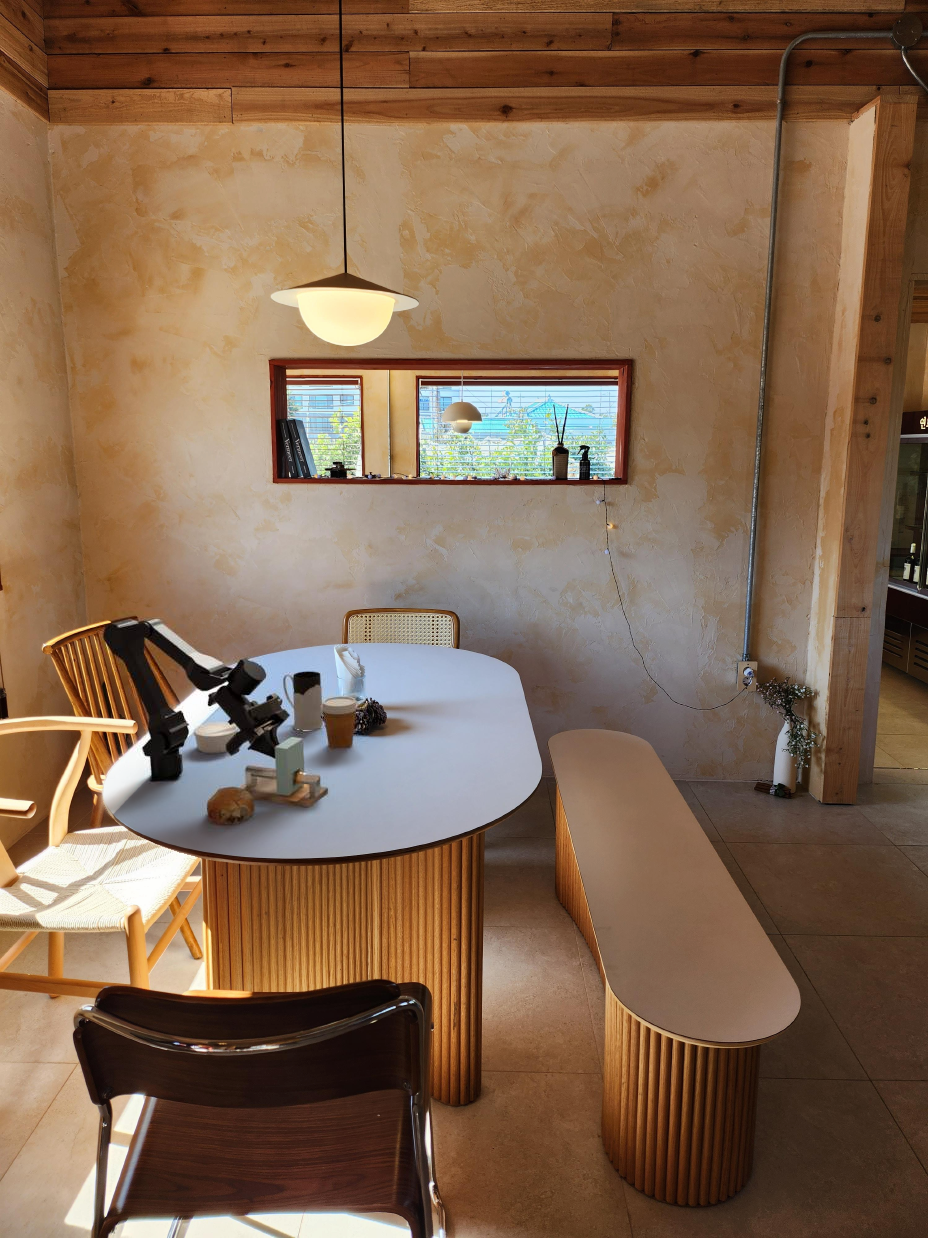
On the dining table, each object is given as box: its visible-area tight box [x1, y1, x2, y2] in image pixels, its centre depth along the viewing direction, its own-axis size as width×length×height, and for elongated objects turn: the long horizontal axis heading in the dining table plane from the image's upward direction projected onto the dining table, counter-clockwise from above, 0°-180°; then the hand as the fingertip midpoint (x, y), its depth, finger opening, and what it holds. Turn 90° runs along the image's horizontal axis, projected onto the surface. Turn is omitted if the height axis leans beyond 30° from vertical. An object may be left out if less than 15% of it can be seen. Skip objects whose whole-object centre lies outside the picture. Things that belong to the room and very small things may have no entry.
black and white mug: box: [282, 670, 324, 731], centre depth 235 cm, size 9×14×15 cm, turn 53°
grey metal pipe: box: [244, 764, 322, 797], centre depth 188 cm, size 18×3×5 cm, turn 71°
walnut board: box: [239, 777, 329, 808], centre depth 189 cm, size 19×9×1 cm, turn 71°
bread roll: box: [206, 786, 255, 826], centre depth 178 cm, size 10×10×8 cm
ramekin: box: [193, 721, 239, 754], centre depth 218 cm, size 11×11×5 cm
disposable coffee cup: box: [321, 696, 358, 750], centre depth 219 cm, size 10×10×12 cm
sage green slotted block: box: [274, 736, 305, 796], centre depth 187 cm, size 3×7×11 cm, turn 161°
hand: (282, 759), depth 187 cm, fingers closed, pressing on sage green slotted block
